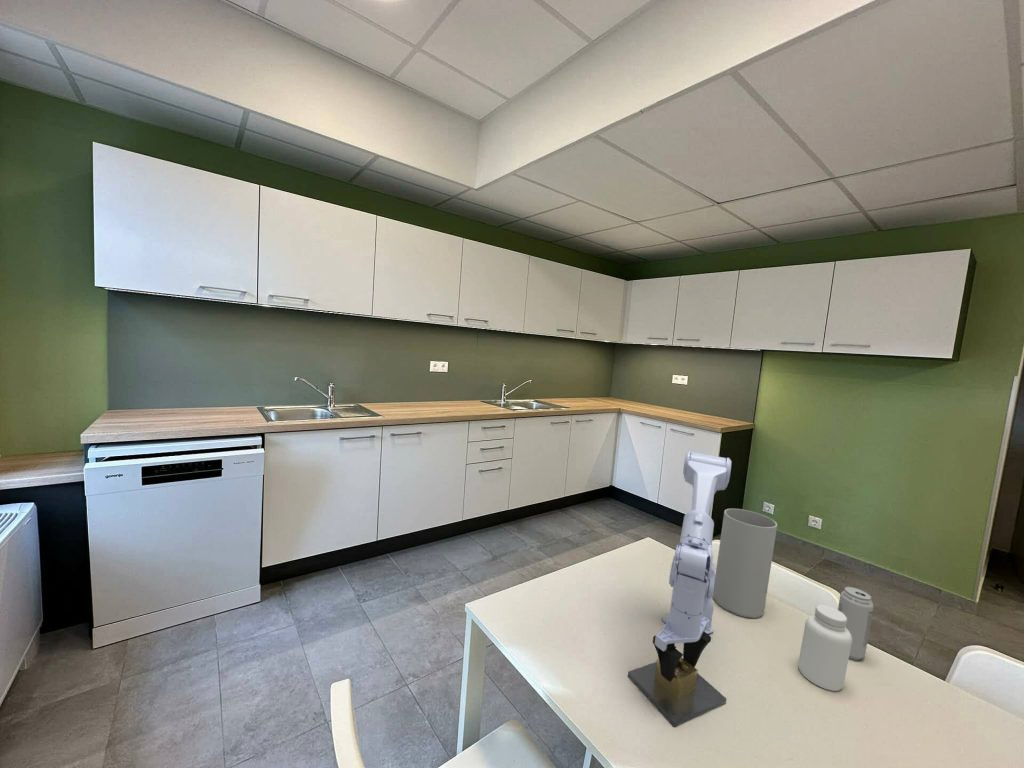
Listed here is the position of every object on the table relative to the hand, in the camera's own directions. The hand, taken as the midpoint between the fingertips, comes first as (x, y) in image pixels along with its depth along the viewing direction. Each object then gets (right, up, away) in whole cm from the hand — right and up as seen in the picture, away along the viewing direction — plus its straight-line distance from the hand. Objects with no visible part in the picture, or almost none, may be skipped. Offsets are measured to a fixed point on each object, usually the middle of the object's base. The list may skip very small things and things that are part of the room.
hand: (677, 671), depth 80 cm
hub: (0, -3, 0) cm, 3 cm away
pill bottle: (+34, -7, +7) cm, 35 cm away
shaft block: (0, -4, 0) cm, 4 cm away
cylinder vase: (+30, -4, +32) cm, 44 cm away
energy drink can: (+47, -7, +16) cm, 51 cm away
